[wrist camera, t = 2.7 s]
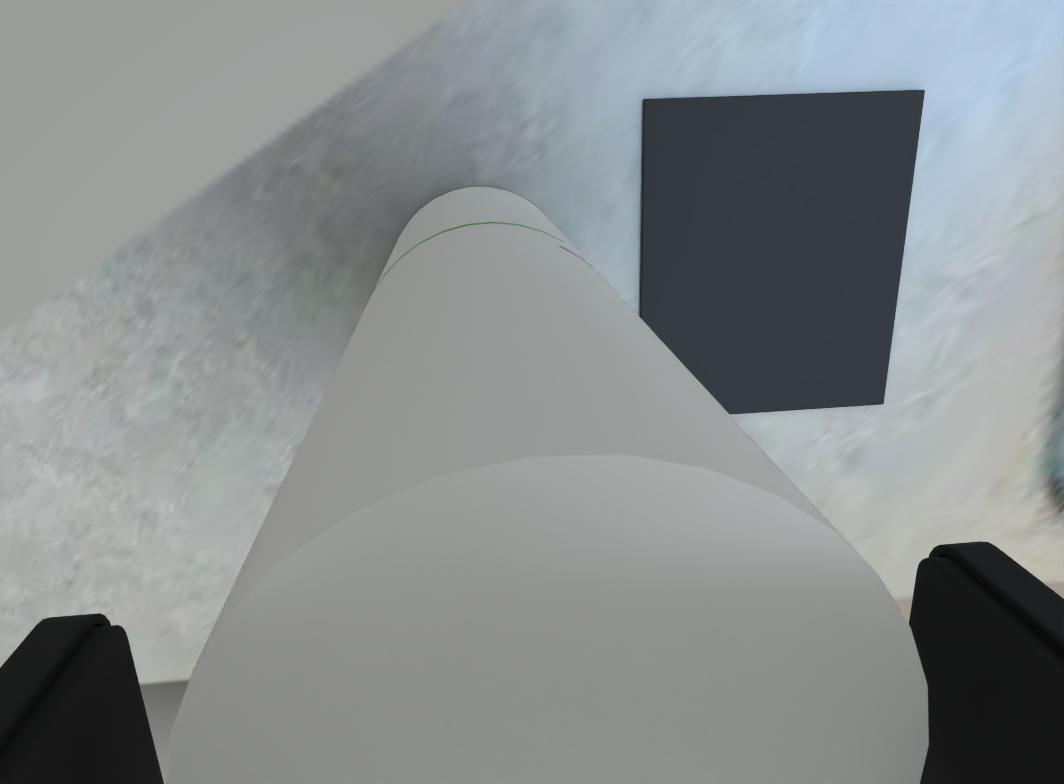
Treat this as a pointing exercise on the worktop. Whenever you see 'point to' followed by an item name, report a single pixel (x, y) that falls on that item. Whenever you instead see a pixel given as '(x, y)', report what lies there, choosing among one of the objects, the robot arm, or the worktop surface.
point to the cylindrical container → (540, 559)
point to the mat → (778, 241)
